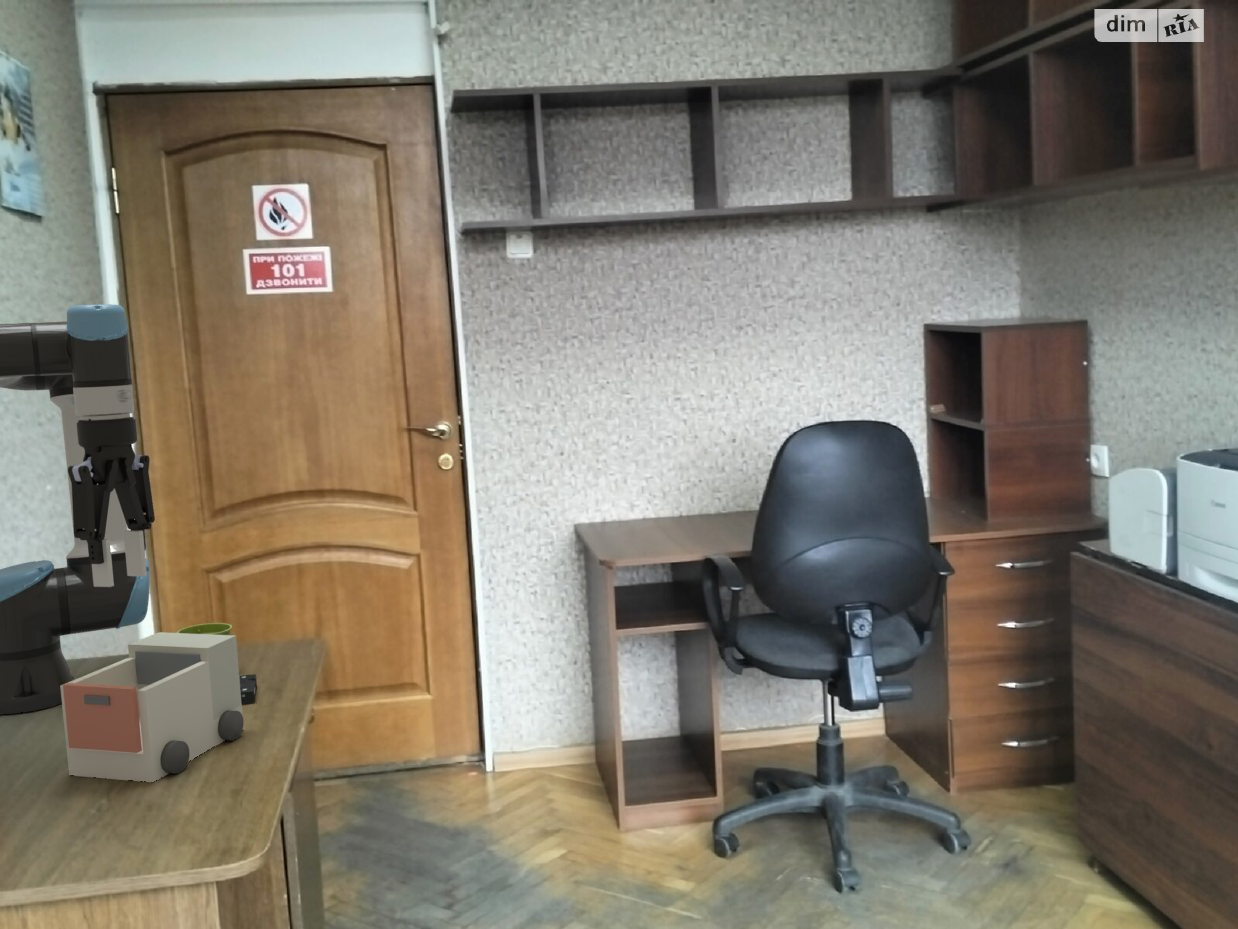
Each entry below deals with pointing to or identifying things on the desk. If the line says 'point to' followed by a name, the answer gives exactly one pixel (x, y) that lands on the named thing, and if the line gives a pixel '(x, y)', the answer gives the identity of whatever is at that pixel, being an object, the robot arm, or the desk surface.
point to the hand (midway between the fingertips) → (120, 580)
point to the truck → (169, 705)
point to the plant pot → (208, 629)
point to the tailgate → (102, 717)
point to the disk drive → (248, 688)
